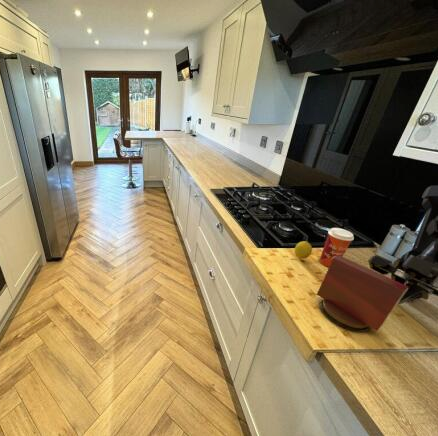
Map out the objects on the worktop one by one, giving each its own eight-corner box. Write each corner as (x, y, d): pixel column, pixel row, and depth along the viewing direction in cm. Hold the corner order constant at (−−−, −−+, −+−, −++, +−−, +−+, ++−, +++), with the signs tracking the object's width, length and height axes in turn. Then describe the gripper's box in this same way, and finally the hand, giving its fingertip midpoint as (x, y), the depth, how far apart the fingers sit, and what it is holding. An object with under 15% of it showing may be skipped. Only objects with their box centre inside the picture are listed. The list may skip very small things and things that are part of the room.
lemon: (288, 256, 96) (294, 239, 92) (298, 253, 97) (304, 237, 94) (301, 263, 91) (307, 246, 87) (311, 261, 93) (318, 244, 89)
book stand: (326, 289, 77) (345, 251, 70) (385, 324, 65) (414, 281, 58) (308, 302, 72) (326, 261, 65) (369, 341, 60) (399, 297, 53)
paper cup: (320, 267, 89) (335, 235, 83) (313, 256, 96) (325, 225, 90) (344, 271, 88) (360, 238, 82) (334, 259, 94) (349, 228, 88)
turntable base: (335, 296, 76) (336, 294, 75) (378, 324, 66) (379, 322, 66) (311, 306, 72) (312, 303, 71) (353, 337, 62) (354, 335, 62)
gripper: (388, 229, 64) (347, 270, 64) (500, 270, 48) (444, 324, 49) (389, 248, 70) (352, 286, 71) (489, 290, 55) (439, 337, 55)
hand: (390, 304), depth 61 cm, fingers closed
